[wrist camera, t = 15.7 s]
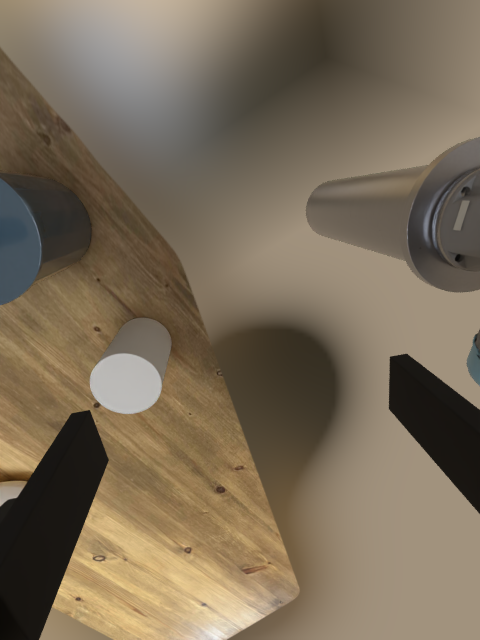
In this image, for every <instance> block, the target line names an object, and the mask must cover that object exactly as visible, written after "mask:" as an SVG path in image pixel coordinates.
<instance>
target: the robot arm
mask: <svg viewBox="0 0 480 640" xmlns="http://www.w3.org/2000/svg"><path fill="white" fill-rule="evenodd" d="M432 239H433V244H434V247H435V249H436V251H437V253H438V255H439V256H440V258H441V259H442V260H443V261H445V262H446V263H447V264H449V265H450V266H453V267H455V268H459V269H462V270H466V271H480V167H477V168H475V169H472V170H470V171H468V172H467V173H465V174H464V175H462V176H461V177H459V178H458V179H457V180H456V181H455V182H454V183H453V184H452V185H451V186H450V187H449V188H448V189H447V191H446V192H445V193H444V195H443V196H442V198H441V200H440V202H439V204H438V206H437V208H436V211H435V214H434V217H433V222H432ZM467 367H468V371H469V373H470V375H471V377H472V378H473V379H474V381H475V382H476V383H477V384H478V385H479V386H480V330H479V333H478V334H476V335H475V337H474V339H473V346H472V348H471V351H470V353H469V356H468V358H467ZM389 381H390V382H389V409H390V411H391V412H392V413H393V414H394V415H395V416H396V418H397V419H398V420H399V421H400V422H401V423H402V425H403V426H404V427H405V428H406V429H407V430H408V432H409V433H410V434H411V435H412V436H413V437H414V438H415V440H416V441H417V442H418V443H419V444H420V445H421V447H423V449H424V450H425V451H426V452H427V453H428V455H429V456H430V457H431V458H432V459H433V460H434V462H435V463H436V464H437V465H438V466H439V467H440V469H441V470H442V471H443V472H444V473H445V474H446V475H447V477H449V479H450V480H451V481H452V482H453V484H454V485H455V486H456V487H457V488H458V489H459V490H460V492H461V493H462V494H463V495H464V496H465V497H466V499H467V500H468V501H469V502H470V503H471V504H472V506H473V507H475V509H476V510H477V511H478V512H479V513H480V410H479V409H478V408H477V407H475V406H474V405H473V404H471V403H470V402H469V401H467V400H466V399H465V398H464V397H462V396H461V395H460V394H458V393H457V392H456V391H454V390H453V389H452V388H450V387H449V386H448V385H447V384H445V383H444V382H443V381H442V380H440V379H439V378H437V377H436V376H435V375H434V374H432V373H431V372H430V371H429V370H427V369H426V368H425V367H423V366H422V365H421V364H420V363H418V362H417V361H416V360H414V359H413V358H411V357H410V356H409V355H408V354H403V355H398V356H392V357H390V380H389ZM108 461H109V460H108V457H107V454H106V452H105V449H104V446H103V444H102V441H101V438H100V436H99V433H98V430H97V428H96V425H95V423H94V420H93V417H92V415H91V412H90V410H88V411H82V412H77V413H72V414H71V415H70V417H69V418H68V420H67V421H66V423H65V425H64V426H63V428H62V429H61V431H60V432H59V434H58V435H57V437H56V438H55V440H54V442H53V443H52V445H51V446H50V448H49V449H48V451H47V452H46V454H45V455H44V457H43V458H42V460H41V462H40V463H39V465H38V466H37V468H36V469H35V471H34V472H33V474H32V475H31V477H30V479H29V480H28V482H27V483H26V485H25V486H24V488H23V489H22V491H21V492H20V494H19V495H18V497H17V498H13V499H8V500H7V501H6V502H4V503H3V504H2V505H1V506H0V640H39V638H40V635H41V633H42V631H43V628H44V625H45V623H46V620H47V618H48V615H49V613H50V610H51V607H52V605H53V602H54V600H55V597H56V595H57V592H58V589H59V587H60V584H61V582H62V579H63V577H64V574H65V571H66V569H67V566H68V564H69V561H70V559H71V556H72V553H73V551H74V548H75V546H76V543H77V541H78V538H79V535H80V533H81V530H82V528H83V525H84V523H85V520H86V517H87V515H88V512H89V510H90V507H91V505H92V502H93V499H94V497H95V494H96V492H97V489H98V487H99V484H100V481H101V479H102V476H103V474H104V471H105V469H106V466H107V463H108Z"/></svg>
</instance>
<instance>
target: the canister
mask: <svg viewBox="0 0 480 640" xmlns="http://www.w3.org/2000/svg"><path fill="white" fill-rule="evenodd" d="M0 176H1V177H2V178H4V179H5V180H6V181H8V182H9V183H10V184H11V185H12V186H13V187H14V188H15V189H16V190H17V191H18V192H19V193H20V194H21V195H22V196H23V197H24V199H25V200H26V201H27V203H28V204H29V206H30V207H31V209H32V211H33V212H34V214H35V216H36V218H37V220H38V223H39V225H40V228H41V232H42V235H43V241H44V260H43V265H42V268H41V272H40V274H39V276H38V278H37V280H36V281H35V283H34V284H33V285H35V284H37V283H39V282H41V281H43V280H45V279H47V278H50V277H52V276H54V275H56V274H58V273H60V272H62V271H64V270H66V269H68V268H69V267H71V266H72V265H74V264H76V263H77V262H78V261H80V260H81V258H82V257H83V256H84V255H85V253H86V252H87V250H88V248H89V245H90V241H91V223H90V219H89V216H88V213H87V211H86V209H85V207H84V205H83V204H82V202H81V201H80V200H79V198H78V197H77V196H76V195H75V194H74V193H73V192H72V191H71V190H69V189H68V188H67V187H66V186H64V185H62V184H61V183H59V182H57V181H55V180H53V179H49V178H45V177H41V176H37V175H32V174H25V173H18V172H11V171H5V170H0ZM33 285H32V286H33Z"/></svg>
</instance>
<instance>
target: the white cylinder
mask: <svg viewBox="0 0 480 640" xmlns="http://www.w3.org/2000/svg"><path fill="white" fill-rule="evenodd" d="M171 345H172V341H171V337H170V334H169V332H168V330H167V329H166V328H165V327H164V326H163V325H162V324H161V323H159V322H158V321H156V320H153V319H150V318H135V319H132V320H130V321H128V322H127V323H125V324H124V325H123V326H122V327H121V328H120V330H119V331H118V333H117V334H116V336H115V337H114V339H113V340H112V342H111V343H110V345H109V346H108V348H107V349H106V351H105V352H104V354H103V355H102V357H101V358H100V360H99V361H98V363H97V364H96V366H95V367H94V369H93V371H92V373H91V377H90V387H91V391H92V393H93V395H94V397H95V398H96V400H97V401H98V402H99V403H100V404H101V405H103V406H104V407H106V408H107V409H109V410H111V411H114V412H118V413H123V414H133V413H138V412H141V411H144V410H146V409H148V408H149V407H151V406H152V405H153V404H154V403H155V402H156V401H157V399H158V397H159V395H160V393H161V389H162V384H163V380H164V376H165V372H166V367H167V363H168V359H169V355H170V351H171Z"/></svg>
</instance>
